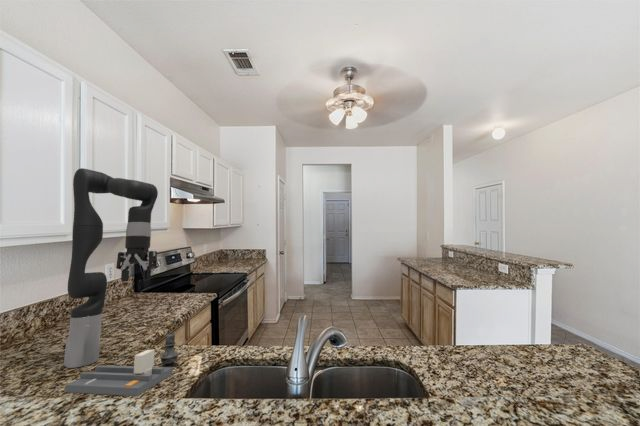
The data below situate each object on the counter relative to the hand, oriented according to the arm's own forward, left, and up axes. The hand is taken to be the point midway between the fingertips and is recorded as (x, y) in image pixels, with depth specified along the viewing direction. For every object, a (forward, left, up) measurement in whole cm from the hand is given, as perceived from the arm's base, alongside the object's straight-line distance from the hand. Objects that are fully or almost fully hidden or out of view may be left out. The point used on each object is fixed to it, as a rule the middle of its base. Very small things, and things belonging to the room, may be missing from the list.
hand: (135, 281), depth 96 cm
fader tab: (+11, -7, -28) cm, 31 cm away
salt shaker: (+10, +6, -30) cm, 32 cm away
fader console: (+4, -7, -30) cm, 31 cm away
